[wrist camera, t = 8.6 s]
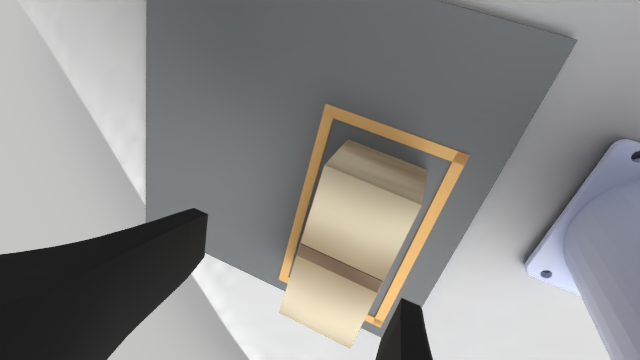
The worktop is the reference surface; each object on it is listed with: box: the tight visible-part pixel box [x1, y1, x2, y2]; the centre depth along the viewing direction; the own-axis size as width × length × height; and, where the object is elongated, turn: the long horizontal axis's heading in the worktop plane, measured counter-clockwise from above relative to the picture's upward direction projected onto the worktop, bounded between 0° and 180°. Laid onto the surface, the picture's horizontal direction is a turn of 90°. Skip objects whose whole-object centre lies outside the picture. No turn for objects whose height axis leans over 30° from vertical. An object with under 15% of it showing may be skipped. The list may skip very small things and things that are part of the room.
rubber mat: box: [146, 0, 577, 338], centre depth 21 cm, size 21×20×1 cm
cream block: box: [279, 139, 428, 348], centre depth 19 cm, size 10×4×4 cm, turn 164°
